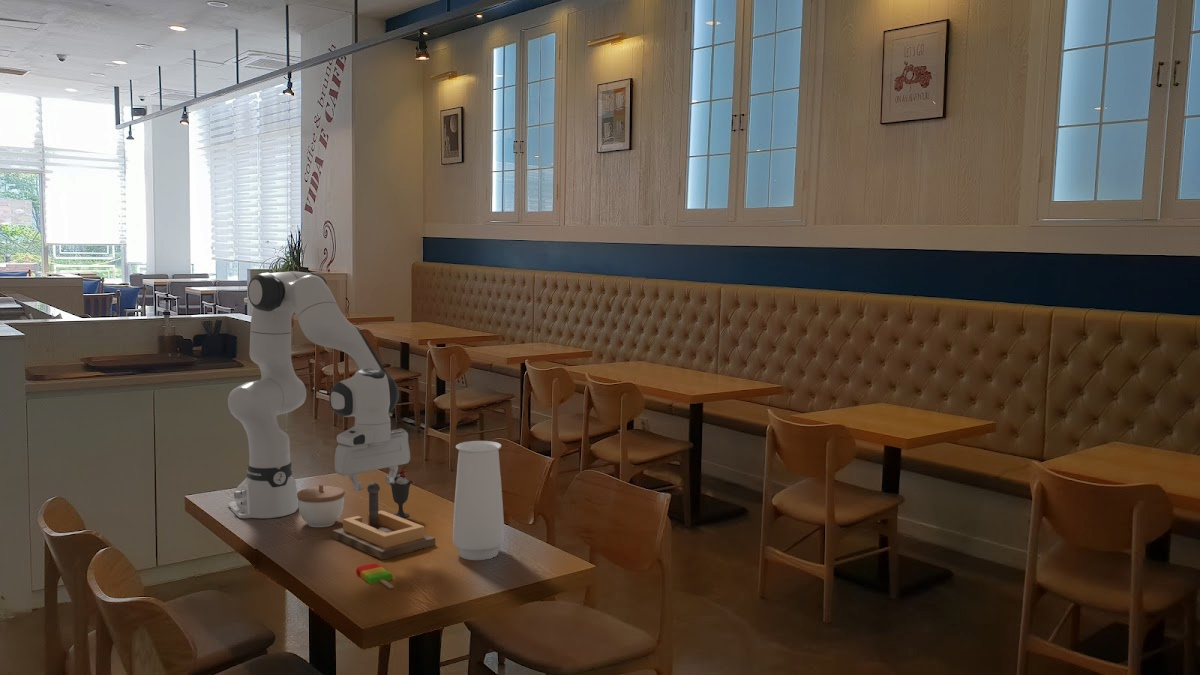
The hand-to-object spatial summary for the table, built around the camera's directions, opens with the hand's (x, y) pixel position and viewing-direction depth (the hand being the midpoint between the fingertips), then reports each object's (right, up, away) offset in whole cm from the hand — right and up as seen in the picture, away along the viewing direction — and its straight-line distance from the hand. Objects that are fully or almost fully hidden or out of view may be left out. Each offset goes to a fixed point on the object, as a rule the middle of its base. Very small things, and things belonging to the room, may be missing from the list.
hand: (374, 486), depth 235 cm
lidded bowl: (-20, -14, +22) cm, 33 cm away
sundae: (0, -14, +30) cm, 33 cm away
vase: (+27, -17, -1) cm, 32 cm away
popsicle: (+6, -19, -19) cm, 28 cm away
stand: (0, -16, +8) cm, 18 cm away
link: (0, -14, +8) cm, 16 cm away
